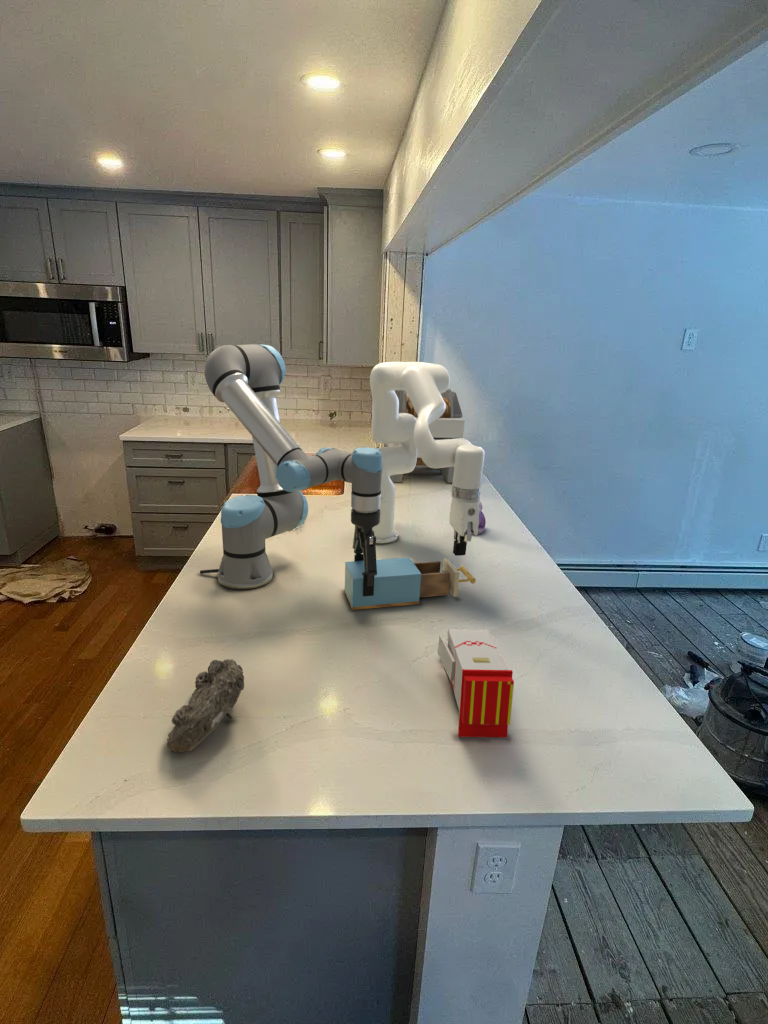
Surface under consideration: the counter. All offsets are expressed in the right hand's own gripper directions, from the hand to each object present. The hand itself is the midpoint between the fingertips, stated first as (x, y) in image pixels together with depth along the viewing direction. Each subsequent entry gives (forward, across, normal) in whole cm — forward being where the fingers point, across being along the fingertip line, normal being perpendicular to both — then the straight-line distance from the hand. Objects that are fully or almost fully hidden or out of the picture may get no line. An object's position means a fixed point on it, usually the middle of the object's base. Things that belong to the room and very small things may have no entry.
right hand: (459, 554), depth 158 cm
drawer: (+10, 0, +7) cm, 13 cm away
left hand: (+7, 0, +27) cm, 28 cm away
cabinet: (+11, 0, +22) cm, 25 cm away
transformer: (+13, +117, -28) cm, 121 cm away
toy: (+10, -44, +14) cm, 47 cm away
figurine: (+12, +42, -24) cm, 50 cm away
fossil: (+11, -41, +66) cm, 78 cm away
